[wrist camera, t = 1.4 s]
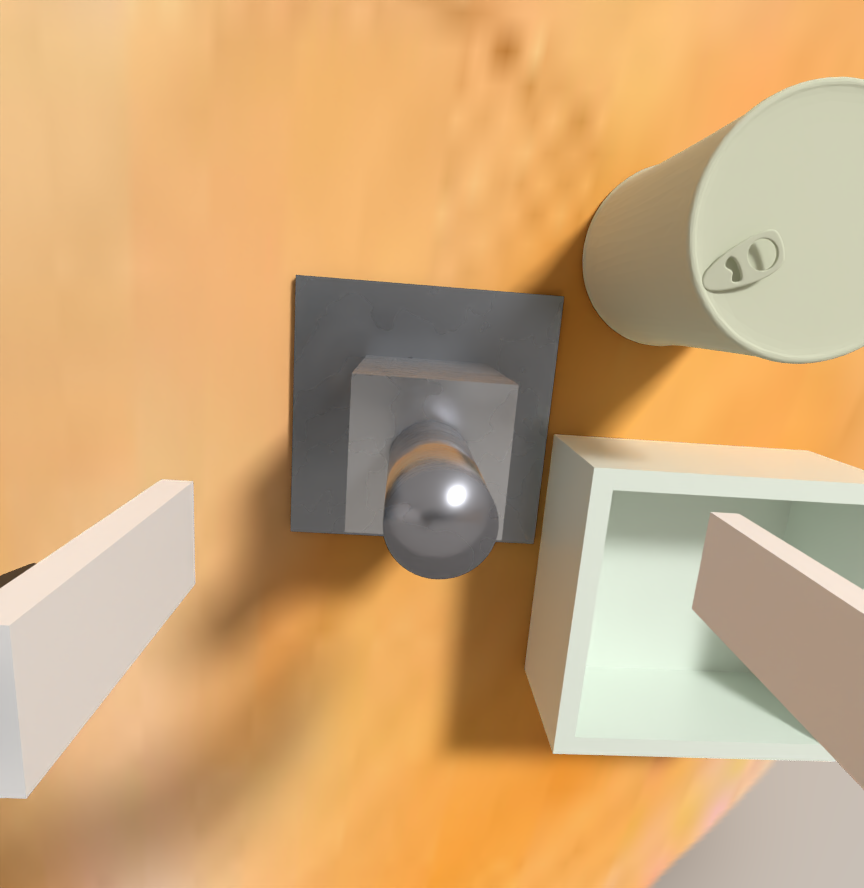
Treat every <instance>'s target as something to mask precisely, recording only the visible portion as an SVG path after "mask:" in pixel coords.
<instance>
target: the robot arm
mask: <svg viewBox="0 0 864 888" xmlns="http://www.w3.org/2000/svg"><path fill="white" fill-rule="evenodd" d="M194 585H195V544H194V491H193V481H181V480H164V479H161V480H160V481H158V482H157V483H155V484H154V485H152V486H151V487H149V488H148V489H146V490H145V491H144V492H142V493H141V494H139V495H138V496H136V497H135V498H133V499H132V500H130V501H129V502H127V503H126V504H124V505H123V506H121V507H120V508H118V509H117V510H115V511H114V512H112V513H111V514H109V515H108V516H107V517H105V518H104V519H102V520H101V521H99V522H98V523H96V524H95V525H93V526H92V527H90V528H89V529H87V530H86V531H84V532H83V533H81V534H80V535H78V536H77V537H75V538H74V539H73V540H71V541H70V542H68V543H67V544H65V545H64V546H62V547H61V548H59V549H58V550H56V551H55V552H53V553H52V554H50V555H49V556H47V557H46V558H44V559H43V560H41V561H40V562H38V563H32V564H29V565H26V566H24V567H21V568H19V569H16V570H13V571H11V572H8V573H6V574H3V575H1V576H0V798H23V799H27V797H28V796H29V795H30V793H31V792H32V791H33V790H34V788H35V787H36V786H37V785H38V783H39V782H40V781H41V780H42V778H43V777H44V776H45V774H46V773H47V772H48V771H49V769H50V768H51V767H52V766H53V764H54V763H55V762H56V760H57V759H58V758H59V757H60V755H61V754H62V753H63V752H64V750H65V749H66V748H67V746H68V745H69V744H70V743H71V741H72V740H73V739H74V738H75V736H76V735H77V734H78V732H79V731H80V730H81V729H82V727H83V726H84V725H85V724H86V722H87V721H88V720H89V718H90V717H91V716H92V715H93V713H94V712H95V711H96V710H97V708H98V707H99V706H100V704H101V703H102V702H103V701H104V699H105V698H106V697H107V696H108V694H109V693H110V692H111V690H112V689H113V688H114V687H115V685H116V684H117V683H118V682H119V680H120V679H121V678H122V677H123V675H124V674H125V673H126V671H127V670H128V669H129V668H130V666H131V665H132V664H133V663H134V661H135V660H136V659H137V657H138V656H139V655H140V654H141V652H142V651H143V650H144V649H145V647H146V646H147V645H148V643H149V642H150V641H151V640H152V638H153V637H154V636H155V635H156V633H157V632H158V631H159V629H160V628H161V627H162V626H163V624H164V623H165V622H166V621H167V619H168V618H169V617H170V615H171V614H172V613H173V612H174V610H175V609H176V608H177V607H178V605H179V604H180V603H181V601H182V600H183V599H184V598H185V596H186V595H187V594H188V593H189V591H190V590H191V589H192V587H193V586H194ZM692 610H693V611H694V612H695V613H696V614H697V615H698V616H699V617H700V618H701V619H702V620H703V621H704V622H705V623H706V624H707V625H708V626H709V628H710V629H711V630H712V631H713V632H714V633H715V634H716V635H717V636H718V637H719V638H720V639H721V640H722V641H723V642H724V643H725V644H726V645H727V646H728V648H729V649H730V650H731V651H732V652H733V653H734V654H735V655H736V656H737V657H738V658H739V659H740V660H741V661H742V662H743V663H744V664H745V665H746V666H747V667H748V669H749V670H750V671H751V672H752V673H753V674H754V675H755V676H756V677H757V678H758V679H759V680H760V681H761V682H762V683H763V684H764V685H765V686H766V687H767V689H768V690H769V691H770V692H771V693H772V694H773V695H774V696H775V697H776V698H777V699H778V700H779V701H780V702H781V703H782V704H783V705H784V706H785V707H786V709H787V710H788V711H789V712H790V713H791V714H792V715H793V716H794V717H795V718H796V719H797V720H798V721H799V722H800V723H801V724H802V725H803V726H804V727H805V729H806V730H807V731H808V732H809V733H810V734H811V735H812V736H813V737H814V738H815V739H816V740H817V741H818V742H819V743H820V744H821V745H822V746H823V747H824V748H825V750H826V751H827V752H828V753H829V754H830V755H831V756H832V757H833V758H834V759H835V760H836V761H837V762H838V763H839V764H840V765H841V766H842V767H843V768H844V770H845V771H846V772H847V773H848V774H849V775H850V776H851V777H852V778H853V779H854V780H855V781H856V782H857V783H858V784H859V785H860V786H861V787H862V788H863V789H864V590H863V589H861V588H860V587H858V586H856V585H855V584H853V583H851V582H850V581H848V580H846V579H845V578H843V577H842V576H840V575H838V574H837V573H835V572H833V571H832V570H830V569H829V568H827V567H825V566H824V565H822V564H820V563H819V562H817V561H815V560H814V559H812V558H811V557H809V556H807V555H806V554H804V553H802V552H801V551H799V550H797V549H796V548H794V547H793V546H791V545H789V544H788V543H786V542H784V541H783V540H781V539H780V538H778V537H776V536H775V535H773V534H771V533H770V532H768V531H766V530H765V529H763V528H762V527H760V526H758V525H757V524H755V523H753V522H752V521H750V520H749V519H747V518H745V517H744V516H742V515H740V514H736V513H719V512H710V517H709V522H708V527H707V532H706V537H705V542H704V547H703V553H702V558H701V563H700V568H699V573H698V578H697V584H696V589H695V594H694V599H693V604H692Z"/></svg>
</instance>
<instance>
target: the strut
mask: <svg viewBox="0 0 864 888" xmlns="http://www.w3.org/2000/svg"><path fill="white" fill-rule="evenodd" d="M518 387H519V385H518V384H516V383H515V382H513V381H512V380H510V379H509V378H507V377H506V376H504V375H502V374H501V373H499V372H498V371H496V370H495V369H493V368H492V367H490V366H489V365H487V364H484V363H470V362H456V361H442V360H428V359H414V358H400V357H387V356H373V355H366V357H365V358H364V359H363V360H362V361H361V363H360V364H359V365H358V366H357V367H356V369H355V370H354V371H353V372H352V375H351V399H350V422H349V445H348V468H347V491H346V514H345V532H351V533H370V534H383V535H384V539H385V543H386V545H387V548H388V550H389V551H390V553H391V555H392V556H393V557H394V559H395V560H396V561H397V562H398V563H399V564H400V565H401V566H402V567H404V568H405V569H407V570H408V571H410V572H412V573H414V574H416V575H419V576H421V577H425V578H430V579H448V578H454V577H458V576H460V575H463V574H465V573H467V572H469V571H471V570H473V569H474V568H475V567H477V566H478V565H479V564H480V563H481V562H483V561H484V559H485V558H486V557H487V556H488V555H489V553H490V551H491V550H492V548H493V546H494V544H495V541H496V540H502V532H503V523H504V514H505V505H506V496H507V487H508V478H509V469H510V460H511V451H512V441H513V432H514V423H515V414H516V405H517V396H518Z"/></svg>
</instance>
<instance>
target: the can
mask: <svg viewBox="0 0 864 888" xmlns="http://www.w3.org/2000/svg"><path fill="white" fill-rule="evenodd" d="M582 267H583V277H584V283H585V287H586V290H587V293H588V296H589V298H590V301H591V303H592V305H593V306H594V308H595V310H596V311H597V313H598V314H599V316H600V317H601V318H602V319H603V320H604V321H605V323H606V324H607V325H608V326H610V327H611V328H612V329H613V330H614V331H616V332H617V333H619V334H620V335H622V336H624V337H625V338H627V339H630V340H632V341H635V342H638V343H641V344H646V345H653V346H669V345H679V346H688V347H695V348H703V349H710V350H717V351H724V352H731V353H738V354H745V355H751V356H757V357H760V358H763V359H767V360H770V361H775V362H781V363H792V364H804V363H814V362H821V361H826V360H830V359H834V358H837V357H840V356H843V355H846V354H848V353H851V352H853V351H855V350H857V349H859V348H861V347H863V346H864V80H863V79H858V78H851V77H828V78H821V79H815V80H810V81H806V82H803V83H799V84H797V85H794V86H791V87H788V88H786V89H784V90H782V91H780V92H778V93H776V94H774V95H772V96H770V97H768V98H767V99H765V100H763V101H762V102H760V103H759V104H758V105H756V106H755V107H753V108H752V109H751V110H750V111H748V112H747V113H746V114H745V115H743V116H741V117H740V118H738V119H736V120H735V121H733V122H731V123H730V124H728V125H726V126H725V127H723V128H721V129H720V130H718V131H716V132H715V133H713V134H711V135H710V136H708V137H706V138H704V139H703V140H701V141H699V142H698V143H696V144H694V145H692V146H691V147H689V148H687V149H685V150H684V151H682V152H680V153H678V154H676V155H675V156H673V157H671V158H669V159H667V160H665V161H664V162H662V163H660V164H658V165H655V166H652V167H649V168H646V169H643V170H641V171H639V172H637V173H635V174H634V175H632V176H630V177H628V178H627V179H626V180H624V181H623V182H622V183H620V184H619V185H618V186H617V187H616V188H615V189H614V190H613V191H612V192H611V193H610V194H609V195H608V196H607V197H606V199H605V200H604V201H603V202H602V204H601V205H600V207H599V208H598V210H597V212H596V213H595V215H594V217H593V219H592V221H591V224H590V226H589V229H588V232H587V235H586V239H585V243H584V249H583V264H582Z"/></svg>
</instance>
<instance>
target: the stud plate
mask: <svg viewBox="0 0 864 888" xmlns="http://www.w3.org/2000/svg"><path fill="white" fill-rule="evenodd" d="M563 302H564V296H551V295H539V294H526V293H514V292H501V291H489V290H477V289H464V288H452V287H439V286H427V285H414V284H402V283H389V282H377V281H364V280H352V279H339V278H327V277H315V276H302V275H296V293H295V341H294V390H293V438H292V487H291V531H295V532H314V533H334V534H353V535H372V536H384V535H383V534H370V533H351V532H345V514H346V491H347V468H348V445H349V422H350V399H351V375H352V372H353V371H354V370H355V369H356V367H357V366H358V365H359V364H360V363H361V361H362V360H363V359H364V358H365V357H366V355H373V356H387V357H400V358H414V359H428V360H442V361H456V362H470V363H484V364H487V365H489V366H490V367H492V368H493V369H495V370H496V371H498V372H499V373H501V374H502V375H504V376H506V377H507V378H509V379H510V380H512V381H513V382H515V383H516V384H518V385H519V387H518V396H517V405H516V414H515V423H514V432H513V441H512V451H511V460H510V469H509V478H508V487H507V496H506V505H505V514H504V523H503V532H502V540H496V541H495V542H507V543H527V544H534V537H535V529H536V521H537V513H538V505H539V496H540V488H541V480H542V472H543V464H544V456H545V448H546V440H547V432H548V424H549V415H550V407H551V399H552V391H553V383H554V375H555V367H556V359H557V351H558V343H559V335H560V326H561V318H562V310H563Z"/></svg>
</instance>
